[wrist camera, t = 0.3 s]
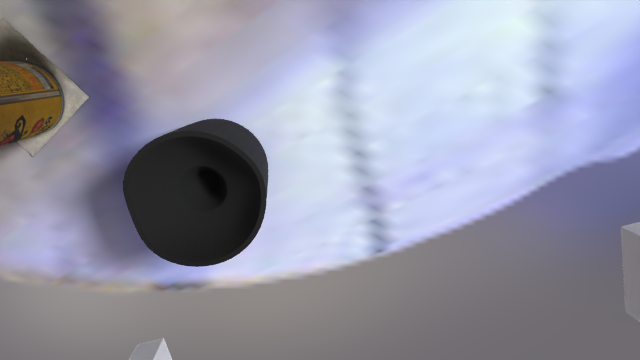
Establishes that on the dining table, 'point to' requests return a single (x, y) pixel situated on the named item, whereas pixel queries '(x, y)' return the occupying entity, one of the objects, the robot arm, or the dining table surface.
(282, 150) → the dining table surface
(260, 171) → the pen holder
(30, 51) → the condiment
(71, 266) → the dining table surface
